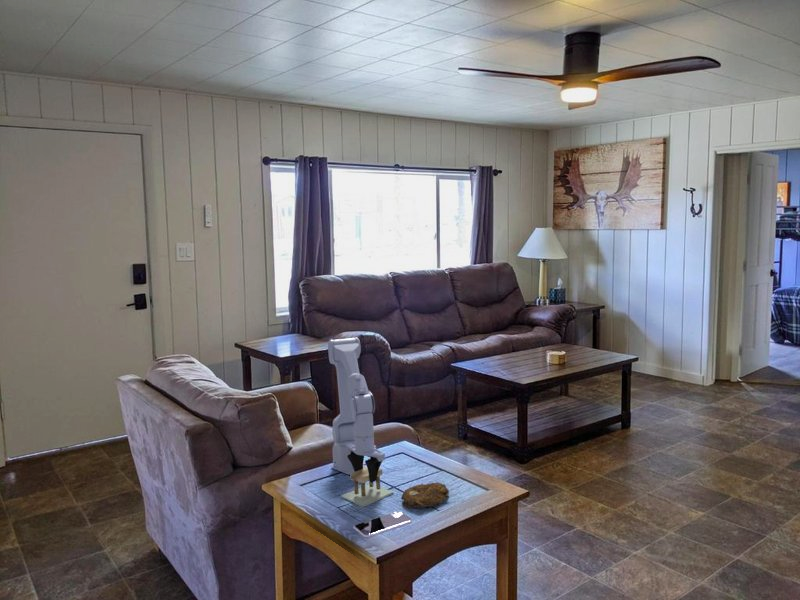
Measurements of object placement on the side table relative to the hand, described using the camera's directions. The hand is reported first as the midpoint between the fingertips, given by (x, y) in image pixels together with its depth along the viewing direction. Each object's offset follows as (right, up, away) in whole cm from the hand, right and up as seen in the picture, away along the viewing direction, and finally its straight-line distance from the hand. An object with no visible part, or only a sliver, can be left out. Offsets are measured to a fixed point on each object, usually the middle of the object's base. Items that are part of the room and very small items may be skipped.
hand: (366, 479), depth 183 cm
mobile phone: (+6, -8, -18) cm, 20 cm away
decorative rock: (+18, -5, -4) cm, 19 cm away
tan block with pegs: (0, -4, +1) cm, 4 cm away
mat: (0, -5, +1) cm, 5 cm away
